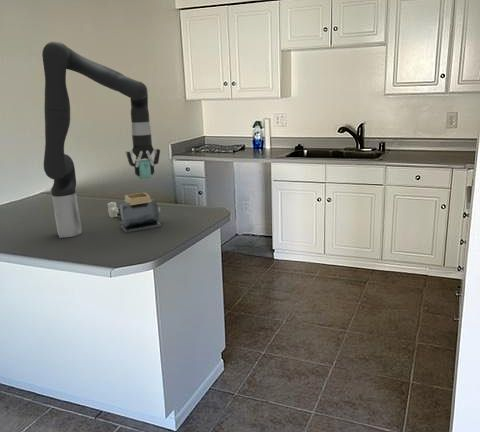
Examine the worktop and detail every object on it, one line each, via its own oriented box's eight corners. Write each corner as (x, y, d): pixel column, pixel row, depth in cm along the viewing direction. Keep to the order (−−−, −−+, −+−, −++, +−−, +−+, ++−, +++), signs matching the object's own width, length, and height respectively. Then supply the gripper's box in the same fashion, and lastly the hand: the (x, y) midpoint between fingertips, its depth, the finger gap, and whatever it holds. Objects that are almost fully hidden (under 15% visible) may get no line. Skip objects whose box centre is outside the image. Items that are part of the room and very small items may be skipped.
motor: (126, 232, 195) (122, 200, 191) (120, 226, 204) (116, 196, 200) (164, 225, 202) (161, 194, 198) (157, 220, 210) (154, 190, 207)
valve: (104, 217, 220) (118, 221, 212) (103, 203, 218) (117, 207, 210) (117, 214, 224) (131, 218, 216) (115, 200, 222) (129, 204, 214)
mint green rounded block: (137, 177, 195) (136, 160, 193) (149, 175, 197) (148, 159, 195) (141, 180, 189) (140, 162, 187) (154, 178, 191) (152, 161, 189)
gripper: (125, 135, 183) (129, 178, 188) (161, 133, 189) (164, 175, 193) (121, 133, 189) (125, 175, 194) (156, 131, 195) (159, 172, 200)
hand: (145, 175), depth 194 cm, fingers closed on mint green rounded block, 5 cm apart
